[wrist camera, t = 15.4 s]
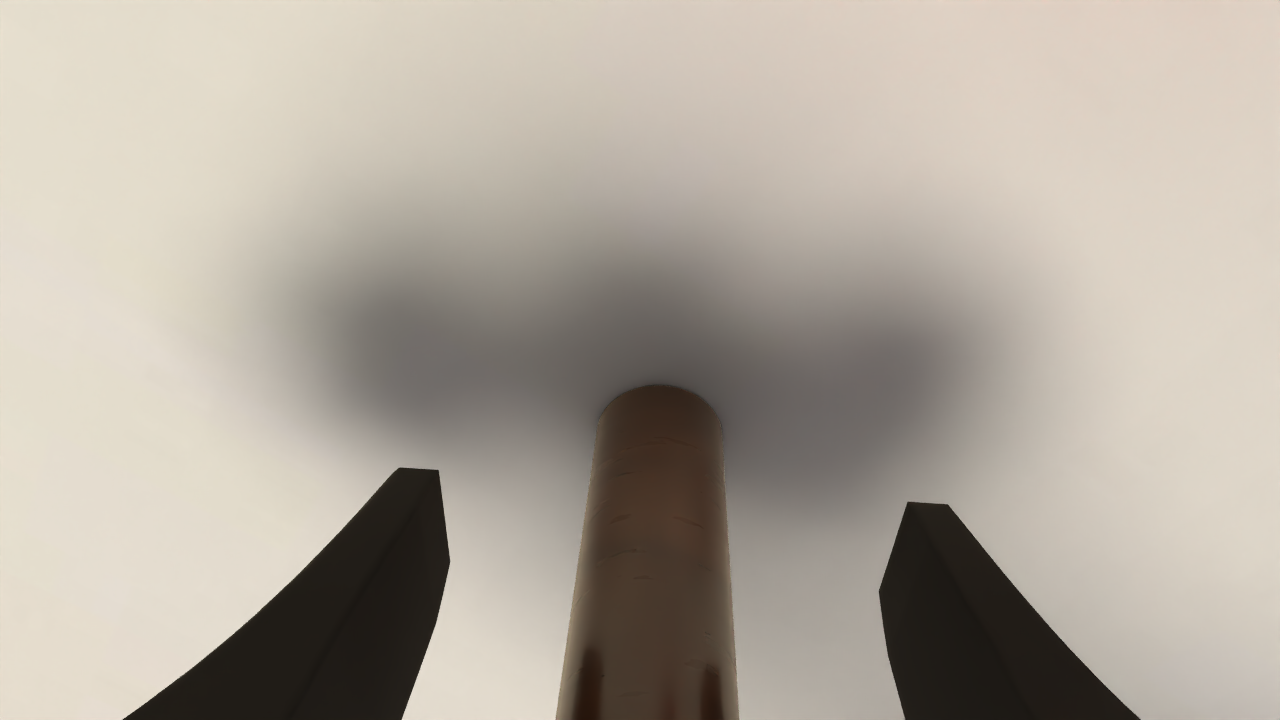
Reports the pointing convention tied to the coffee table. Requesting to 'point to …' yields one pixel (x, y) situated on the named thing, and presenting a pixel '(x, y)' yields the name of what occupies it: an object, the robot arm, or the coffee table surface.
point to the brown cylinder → (653, 569)
